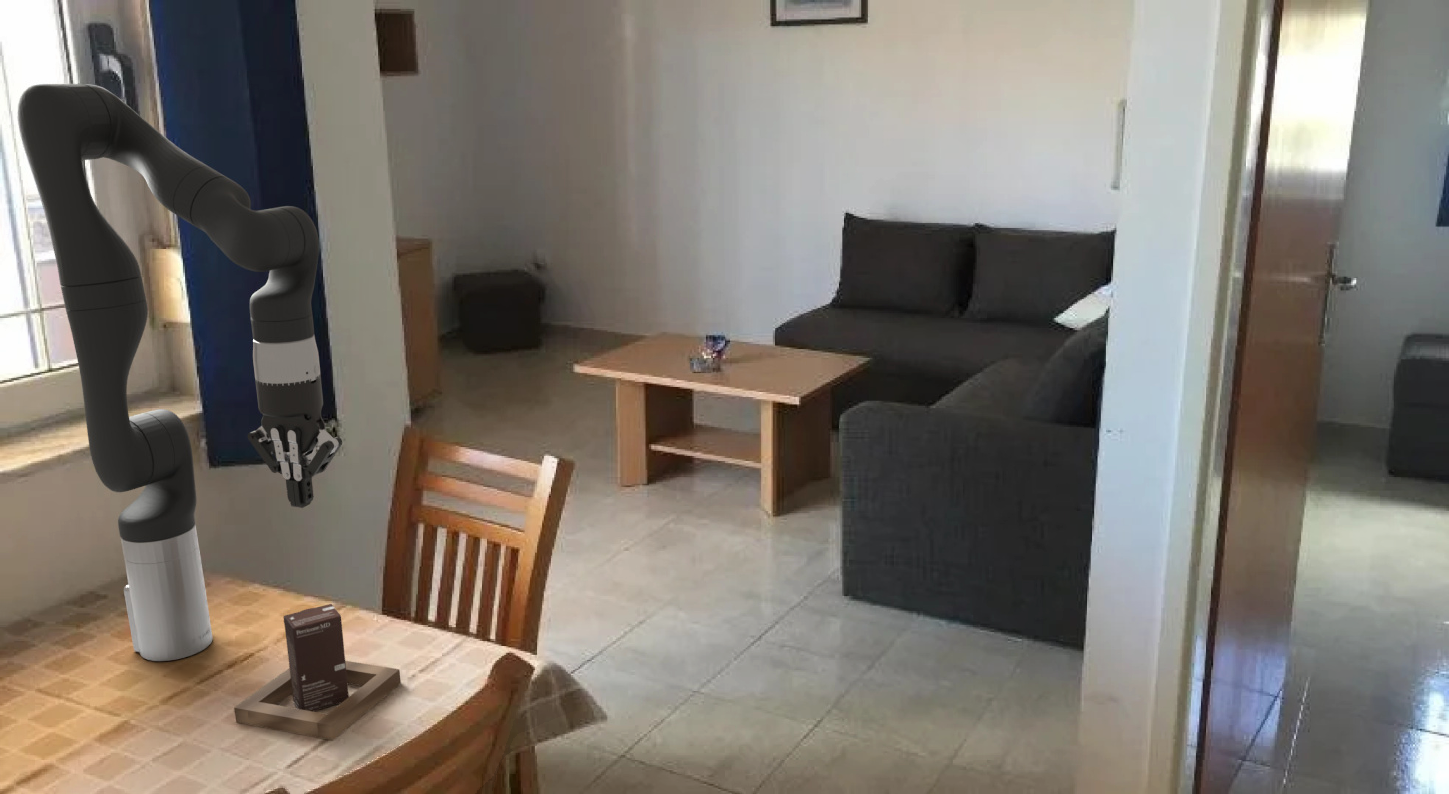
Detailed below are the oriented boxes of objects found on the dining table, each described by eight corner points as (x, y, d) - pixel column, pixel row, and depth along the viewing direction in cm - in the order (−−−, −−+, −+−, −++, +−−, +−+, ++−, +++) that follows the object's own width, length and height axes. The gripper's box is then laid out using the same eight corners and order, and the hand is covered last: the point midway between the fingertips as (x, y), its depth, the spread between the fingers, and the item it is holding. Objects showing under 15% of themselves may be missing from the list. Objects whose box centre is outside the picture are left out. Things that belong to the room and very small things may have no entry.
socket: (235, 722, 143) (233, 707, 143) (309, 668, 156) (308, 654, 156) (332, 740, 139) (331, 725, 138) (400, 683, 152) (399, 669, 151)
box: (303, 717, 144) (291, 627, 141) (293, 702, 148) (281, 614, 144) (352, 702, 147) (341, 614, 144) (341, 687, 151) (330, 601, 148)
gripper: (221, 375, 143) (238, 509, 148) (312, 385, 139) (326, 522, 143) (264, 361, 150) (278, 489, 154) (352, 370, 145) (364, 501, 150)
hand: (301, 505), depth 149 cm, fingers closed
